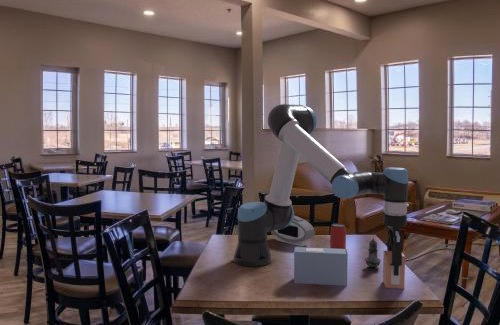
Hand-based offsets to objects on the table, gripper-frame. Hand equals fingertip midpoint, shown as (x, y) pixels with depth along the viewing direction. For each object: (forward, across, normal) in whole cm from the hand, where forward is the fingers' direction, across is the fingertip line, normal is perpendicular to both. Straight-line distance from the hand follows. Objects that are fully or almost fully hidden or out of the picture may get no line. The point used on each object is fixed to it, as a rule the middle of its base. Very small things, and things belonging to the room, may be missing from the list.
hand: (393, 280), depth 143 cm
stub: (+2, 0, 0) cm, 2 cm away
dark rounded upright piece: (+2, +17, +5) cm, 18 cm away
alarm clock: (+2, +51, +38) cm, 63 cm away
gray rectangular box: (+2, 0, +25) cm, 25 cm away
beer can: (+2, +38, +17) cm, 42 cm away
